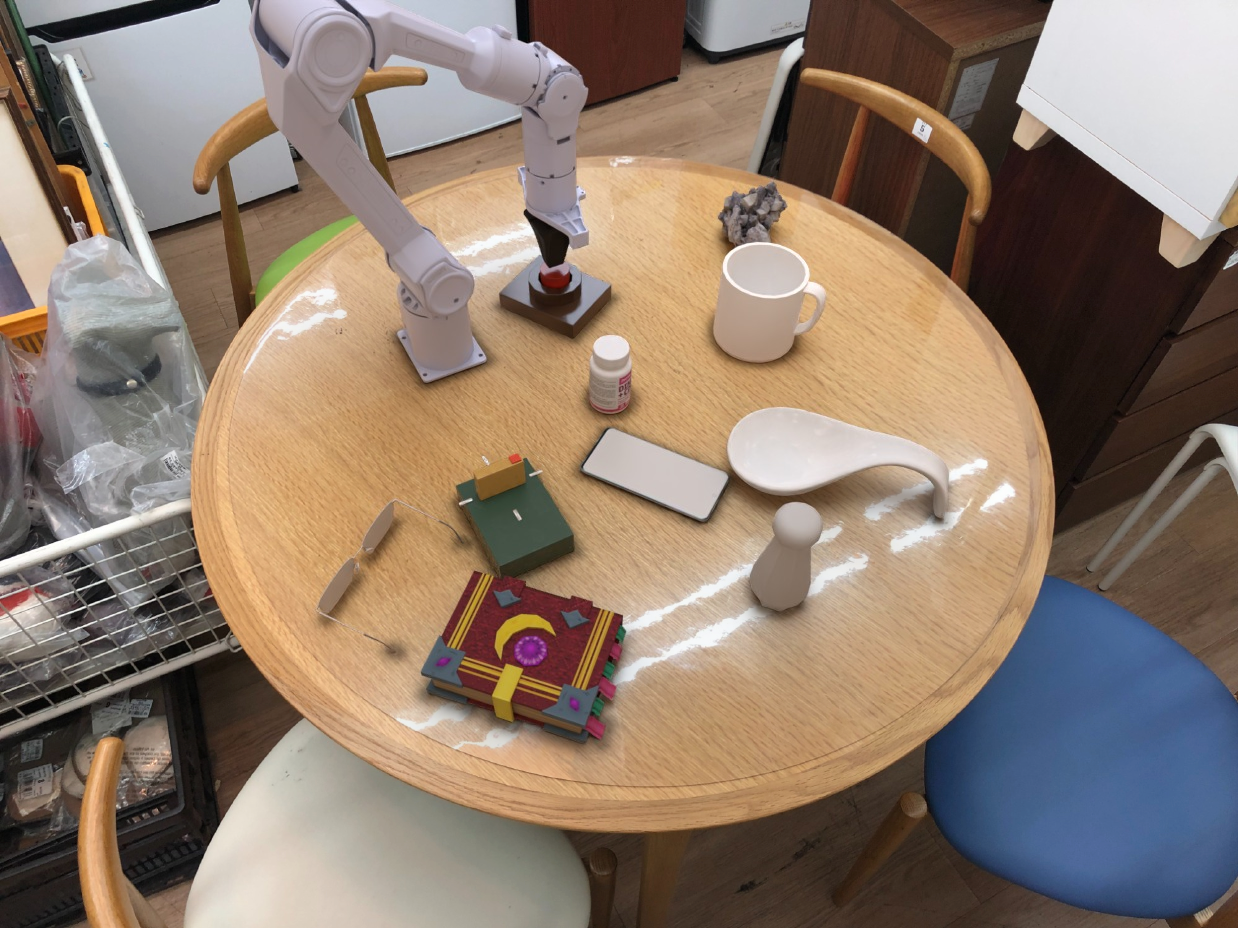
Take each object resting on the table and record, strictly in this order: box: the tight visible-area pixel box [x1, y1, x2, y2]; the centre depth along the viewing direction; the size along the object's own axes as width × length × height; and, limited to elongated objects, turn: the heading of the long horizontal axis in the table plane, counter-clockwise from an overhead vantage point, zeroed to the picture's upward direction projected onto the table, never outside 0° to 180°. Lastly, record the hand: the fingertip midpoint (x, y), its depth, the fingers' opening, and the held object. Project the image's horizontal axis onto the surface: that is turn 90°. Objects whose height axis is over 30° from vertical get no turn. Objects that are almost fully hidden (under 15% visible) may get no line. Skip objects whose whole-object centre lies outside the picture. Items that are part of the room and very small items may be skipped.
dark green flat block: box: [455, 455, 575, 579], centre depth 91 cm, size 13×9×3 cm
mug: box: [712, 242, 827, 364], centre depth 106 cm, size 13×10×10 cm
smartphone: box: [580, 426, 731, 522], centre depth 96 cm, size 7×1×15 cm
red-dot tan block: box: [472, 453, 526, 501], centre depth 89 cm, size 5×1×4 cm, turn 118°
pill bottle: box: [588, 334, 633, 415], centre depth 99 cm, size 5×5×8 cm
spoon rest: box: [726, 406, 950, 519], centre depth 93 cm, size 24×12×7 cm, turn 77°
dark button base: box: [498, 254, 612, 339], centre depth 111 cm, size 11×9×4 cm
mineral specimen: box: [717, 180, 788, 248], centre depth 119 cm, size 12×9×10 cm
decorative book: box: [420, 569, 627, 745], centre depth 80 cm, size 11×16×5 cm
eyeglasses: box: [314, 498, 465, 653], centre depth 86 cm, size 14×8×4 cm, turn 157°
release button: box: [540, 261, 570, 289], centre depth 109 cm, size 4×4×2 cm
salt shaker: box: [749, 501, 824, 613], centre depth 82 cm, size 6×6×13 cm
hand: (553, 263), depth 108 cm, fingers closed
